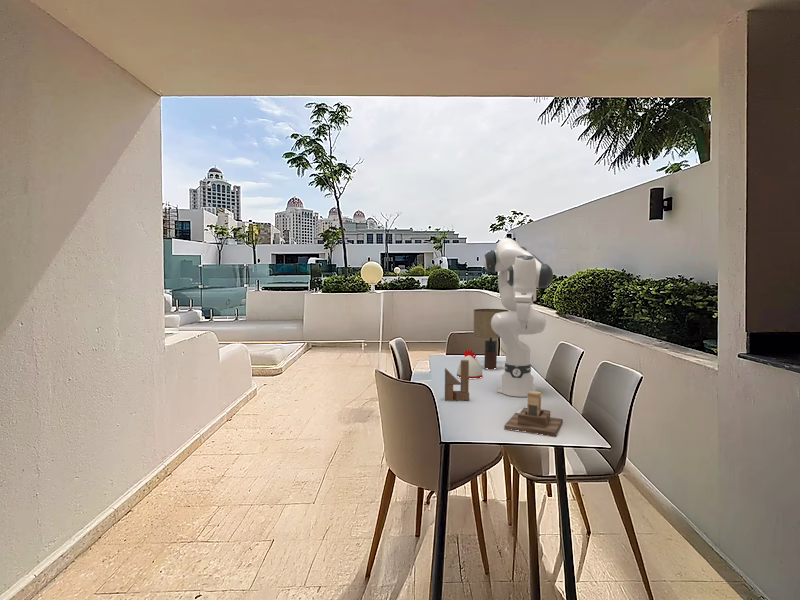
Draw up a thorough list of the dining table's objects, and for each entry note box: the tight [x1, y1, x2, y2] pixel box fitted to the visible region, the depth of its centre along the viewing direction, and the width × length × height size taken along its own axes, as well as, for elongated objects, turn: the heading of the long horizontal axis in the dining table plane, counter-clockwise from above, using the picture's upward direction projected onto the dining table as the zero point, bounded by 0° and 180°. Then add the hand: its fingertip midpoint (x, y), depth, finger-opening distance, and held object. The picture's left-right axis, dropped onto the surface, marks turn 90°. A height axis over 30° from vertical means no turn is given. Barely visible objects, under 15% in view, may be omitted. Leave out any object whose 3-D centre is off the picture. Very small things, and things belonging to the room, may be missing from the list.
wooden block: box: [444, 359, 470, 401], centre depth 220 cm, size 4×11×18 cm, turn 90°
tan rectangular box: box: [526, 391, 542, 416], centre depth 183 cm, size 5×4×11 cm
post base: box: [503, 407, 564, 437], centre depth 183 cm, size 18×18×5 cm
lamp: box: [473, 308, 510, 369], centre depth 289 cm, size 20×20×35 cm
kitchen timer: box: [456, 349, 483, 379], centre depth 269 cm, size 14×14×15 cm
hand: (524, 330), depth 195 cm, fingers open, 8 cm apart
